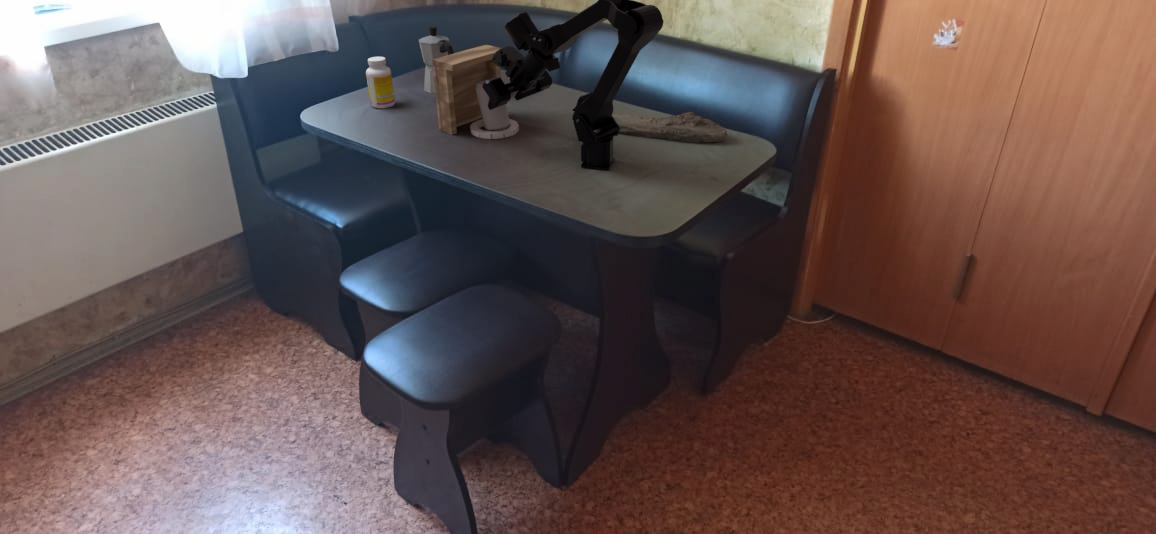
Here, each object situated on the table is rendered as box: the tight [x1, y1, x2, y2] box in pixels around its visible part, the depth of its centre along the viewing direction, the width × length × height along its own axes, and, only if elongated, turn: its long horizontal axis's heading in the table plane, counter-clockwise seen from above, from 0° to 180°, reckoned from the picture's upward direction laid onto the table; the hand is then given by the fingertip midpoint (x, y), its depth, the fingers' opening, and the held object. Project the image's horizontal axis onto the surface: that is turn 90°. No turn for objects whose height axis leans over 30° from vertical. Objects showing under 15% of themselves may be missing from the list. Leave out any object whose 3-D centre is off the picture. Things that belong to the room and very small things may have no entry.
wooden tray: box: [432, 44, 502, 135], centre depth 197 cm, size 7×18×18 cm, turn 140°
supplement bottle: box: [365, 56, 396, 109], centre depth 212 cm, size 7×7×13 cm
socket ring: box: [469, 118, 520, 140], centre depth 197 cm, size 12×12×1 cm
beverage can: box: [476, 80, 510, 132], centre depth 194 cm, size 6×6×12 cm
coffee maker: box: [418, 25, 455, 95], centre depth 221 cm, size 15×9×18 cm, turn 43°
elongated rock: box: [598, 111, 728, 144], centre depth 195 cm, size 35×5×10 cm
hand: (502, 103), depth 192 cm, fingers open, 9 cm apart
